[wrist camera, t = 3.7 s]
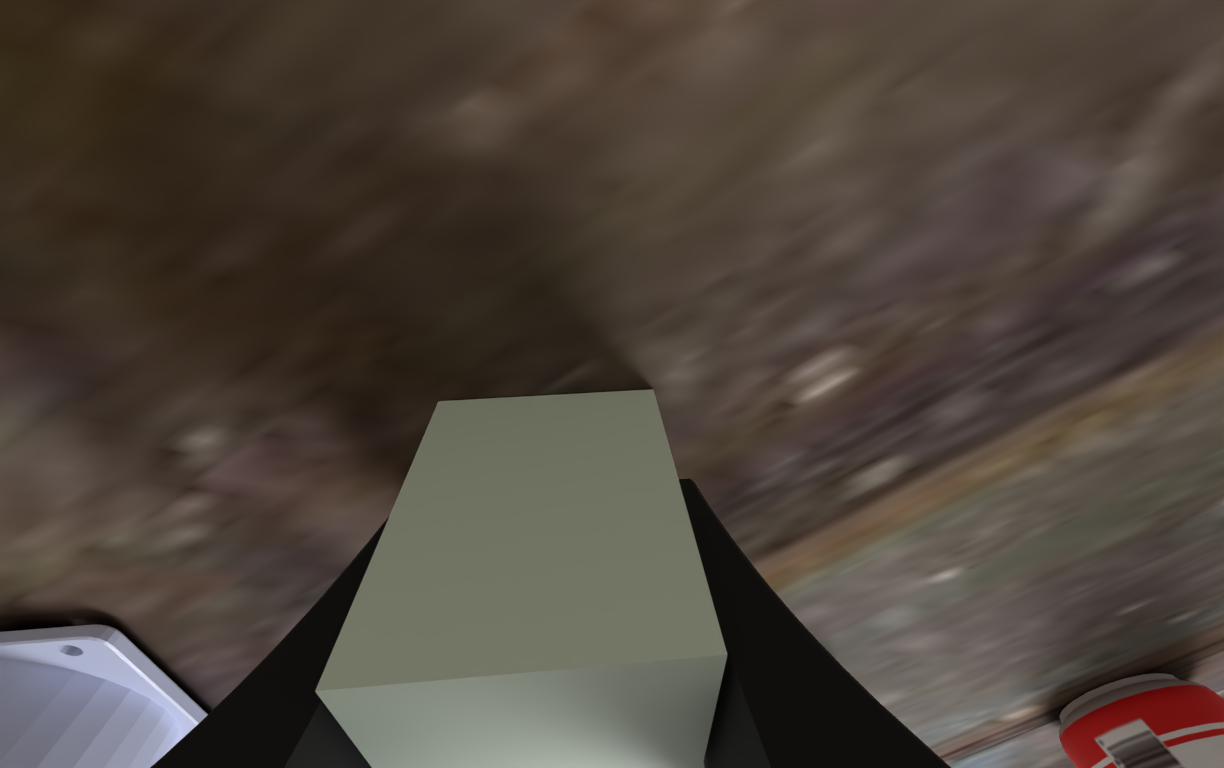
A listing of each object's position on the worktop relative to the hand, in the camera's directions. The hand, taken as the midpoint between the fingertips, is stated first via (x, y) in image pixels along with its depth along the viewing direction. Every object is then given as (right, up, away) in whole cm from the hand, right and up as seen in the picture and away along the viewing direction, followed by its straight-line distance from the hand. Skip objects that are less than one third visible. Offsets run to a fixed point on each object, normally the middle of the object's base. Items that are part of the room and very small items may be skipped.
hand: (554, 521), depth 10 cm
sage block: (0, +1, +1) cm, 1 cm away
